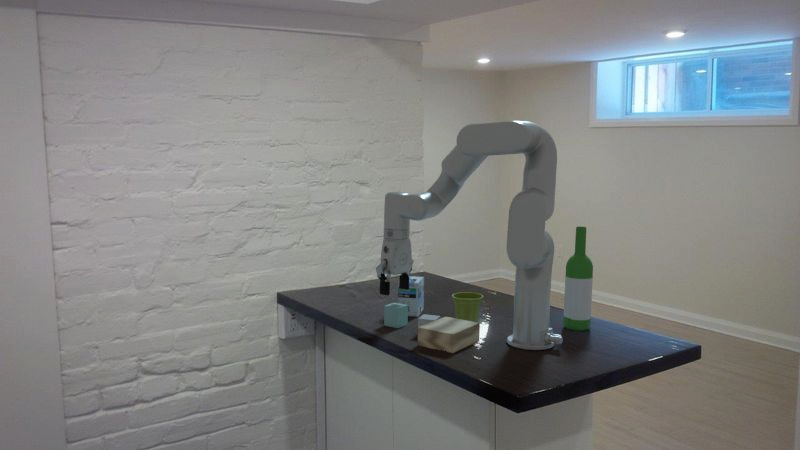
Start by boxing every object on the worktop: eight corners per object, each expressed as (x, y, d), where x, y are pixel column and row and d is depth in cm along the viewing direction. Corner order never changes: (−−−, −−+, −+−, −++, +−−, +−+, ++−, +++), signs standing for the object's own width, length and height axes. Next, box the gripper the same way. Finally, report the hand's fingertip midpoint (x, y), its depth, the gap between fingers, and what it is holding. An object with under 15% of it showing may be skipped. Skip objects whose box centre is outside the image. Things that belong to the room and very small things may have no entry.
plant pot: (447, 326, 208) (447, 297, 207) (455, 318, 217) (456, 290, 216) (478, 329, 205) (479, 300, 204) (485, 321, 214) (486, 293, 213)
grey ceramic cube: (440, 333, 201) (440, 316, 201) (434, 337, 197) (435, 320, 196) (423, 331, 203) (423, 314, 203) (417, 335, 199) (418, 318, 198)
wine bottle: (575, 323, 213) (580, 224, 209) (595, 329, 207) (600, 227, 203) (557, 326, 209) (561, 226, 205) (577, 333, 203) (582, 229, 199)
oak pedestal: (479, 340, 194) (479, 322, 193) (452, 353, 183) (453, 334, 182) (445, 333, 200) (445, 316, 200) (417, 345, 189) (417, 327, 188)
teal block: (407, 324, 210) (408, 305, 209) (397, 328, 206) (398, 308, 205) (394, 322, 213) (394, 302, 212) (384, 325, 208) (384, 305, 208)
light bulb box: (418, 317, 218) (418, 283, 217) (397, 315, 220) (397, 281, 218) (424, 309, 229) (424, 276, 227) (403, 307, 230) (404, 275, 229)
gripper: (389, 239, 197) (387, 299, 199) (423, 232, 210) (421, 289, 213) (367, 236, 201) (366, 294, 203) (403, 230, 215) (401, 285, 217)
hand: (394, 291), depth 208 cm, fingers open, 9 cm apart
